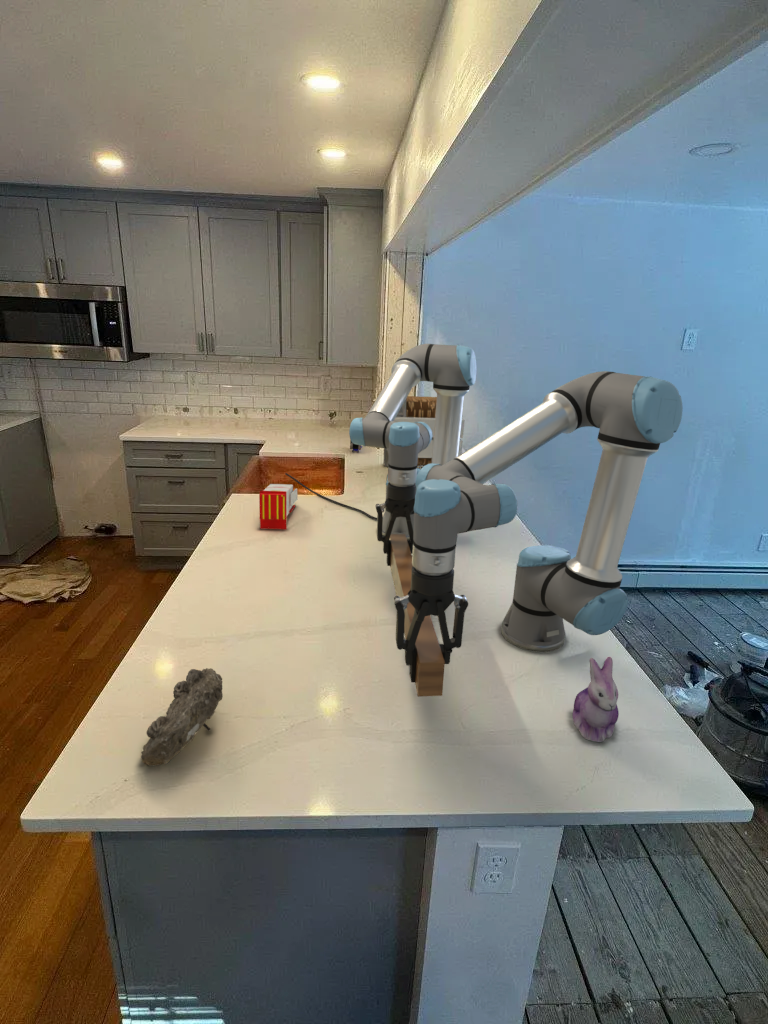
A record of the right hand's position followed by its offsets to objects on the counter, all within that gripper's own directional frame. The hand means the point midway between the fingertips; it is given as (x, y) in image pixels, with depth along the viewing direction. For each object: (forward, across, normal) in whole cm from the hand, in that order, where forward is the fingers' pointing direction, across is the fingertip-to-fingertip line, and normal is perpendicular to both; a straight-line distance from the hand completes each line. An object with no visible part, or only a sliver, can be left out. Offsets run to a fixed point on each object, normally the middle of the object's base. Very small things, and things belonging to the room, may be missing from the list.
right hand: (426, 677), depth 108 cm
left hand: (0, 0, +51) cm, 51 cm away
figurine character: (+11, -6, +216) cm, 216 cm away
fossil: (+8, -44, -2) cm, 45 cm away
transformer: (+11, +24, +173) cm, 175 cm away
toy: (+9, -38, +111) cm, 117 cm away
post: (+1, 0, +25) cm, 25 cm away
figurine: (+10, +33, -4) cm, 34 cm away
